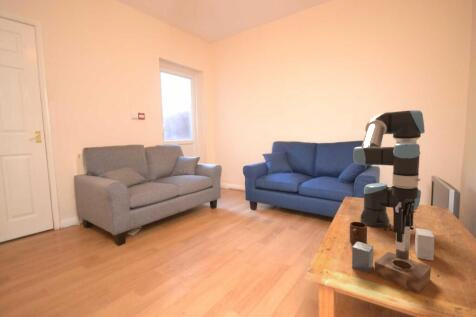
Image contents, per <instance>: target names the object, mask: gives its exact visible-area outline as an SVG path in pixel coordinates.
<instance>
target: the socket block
mask: <svg viewBox="0 0 476 317" xmlns="http://www.w3.org/2000/svg"><path fill="white" fill-rule="evenodd" d="M373 266H374V270H373V272H374V275H375V276H378V277H380V278H381V279H382V278H383V279H385V280H386V281H389V282H392V283H394V284H396V285H398V286H400V287H402V288H405V289H407V290H410V291H411V292H414V293H416V294H420V292H421V291H422V290H423V288H425V287H426V286H427V284H428V283H429V281H431V272H432V271H431V269H432V267H431V266H430V265H427V264H424V263H421V262H418V261H416V260H413V259H410V258H409V259H407V260H403V259H400V258H398V257H396V253H393V252H390V251H387V252H386V253H385V254H383V255H382V256H380V257H379V258H378V259H376V260H375V261H374V265H373Z"/></svg>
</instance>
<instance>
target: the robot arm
mask: <svg viewBox="0 0 476 317" xmlns="http://www.w3.org/2000/svg"><path fill="white" fill-rule="evenodd" d="M364 130H365V135H364V137H363V141H362V144H361V146H356V147H354V148H353V153H352V160H353V163H354V164H357V165H363V166H364V165H365V166H366V165H368V166H371V165H372V166H392V167H393V168H392V181H391V182H392V184H391V186H388V184H387V183H381V182H377V183H376V182H375V183H374V182H373V183H368V184H366V185H365V186H364V188H363V209H362V212H361V214H360V217H359V220H360V221H359V222H361V223H364V224H366V225H367V226H369V227H373V228H375V227H376V228H386V227H389V226H390V222H391V220H390V218H389V215H388V211H387V208H390V209H392V210H393V211H392V213H393V218H392V219H393V220H392V222H393V223H392V224H393V227H392V228H393V229H392V232H393V233H395V248H394V249H395V250H396V249H398V250H401V251H405V233H404V230H405V225H408V226H410V231H414V227H413V226H414V216H415V215H414V213H415V212H414V211H416V210H417V209H419V205H420V204H421V203H420V202H421V195H422V190H421V189H419V187H418V186H419V182H420V181H421V178H419V176H420V175H419V174H420V173H419V171H420V157H421V156H420V155H421V150H420V147H421V146H420V144H419V143H417V141H418V140H419V139H420V138H421V137H422V136H421V135H422V134H425V121H424V116H423V112H422V111H421V110H401V111H400V110H399V111H387V112H383V113H380V114H377V115H375V116H374V117H372V118H371V119H370V120H369V121H368V122H367V123H366V125H365V129H364ZM384 135H392V139H394V140H395V141H396V142H395V144H394V146H382V143H383V139H384ZM410 247H411V238H410V239H409V248H410Z"/></svg>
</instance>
